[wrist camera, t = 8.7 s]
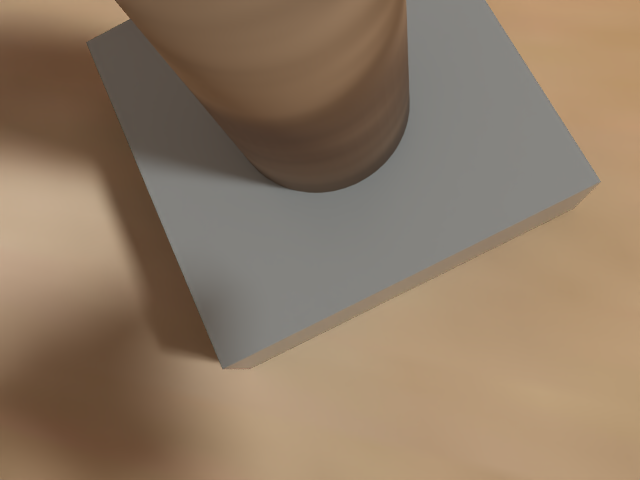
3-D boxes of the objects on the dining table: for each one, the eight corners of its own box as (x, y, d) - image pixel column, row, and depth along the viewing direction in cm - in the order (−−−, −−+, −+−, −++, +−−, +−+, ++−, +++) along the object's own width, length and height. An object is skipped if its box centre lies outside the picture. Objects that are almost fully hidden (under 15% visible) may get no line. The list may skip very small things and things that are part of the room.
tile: (573, 208, 20) (600, 181, 17) (249, 369, 20) (222, 369, 18) (405, -64, 23) (404, -127, 20) (126, 82, 23) (86, 42, 21)
